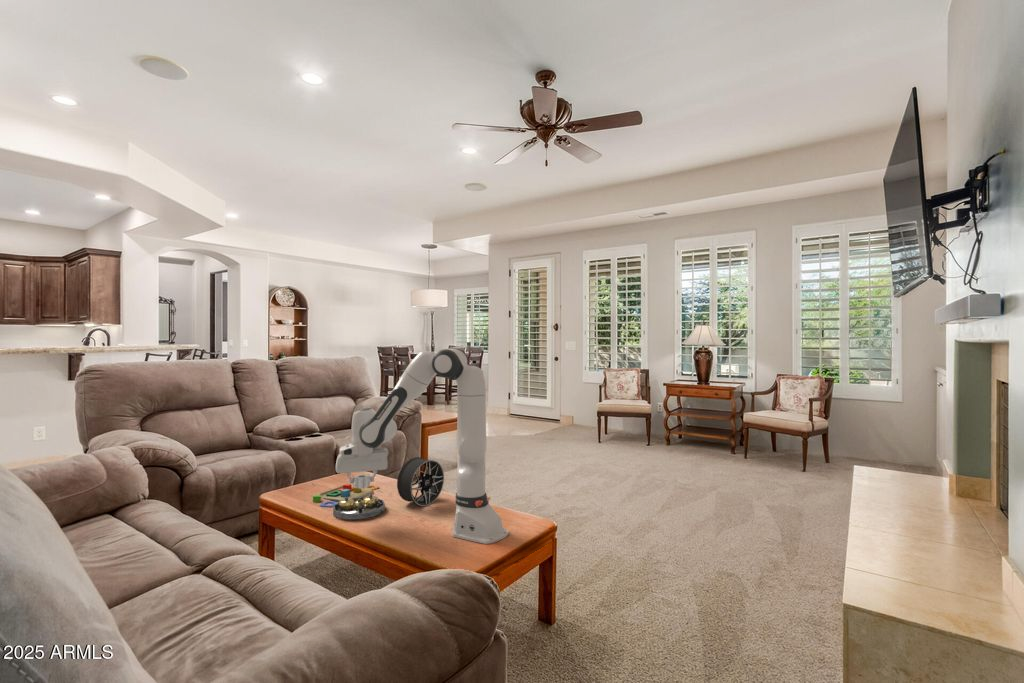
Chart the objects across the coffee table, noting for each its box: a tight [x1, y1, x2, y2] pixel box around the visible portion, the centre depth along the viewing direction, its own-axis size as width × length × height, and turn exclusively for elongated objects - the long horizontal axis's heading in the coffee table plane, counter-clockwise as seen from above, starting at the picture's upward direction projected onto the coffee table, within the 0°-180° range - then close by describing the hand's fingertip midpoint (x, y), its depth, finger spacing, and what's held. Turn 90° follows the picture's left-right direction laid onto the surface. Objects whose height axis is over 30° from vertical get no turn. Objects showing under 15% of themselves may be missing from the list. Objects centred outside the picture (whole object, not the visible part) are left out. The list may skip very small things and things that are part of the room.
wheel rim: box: [396, 456, 445, 507], centre depth 222 cm, size 20×9×20 cm, turn 143°
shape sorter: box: [312, 483, 380, 508], centre depth 231 cm, size 34×19×5 cm, turn 152°
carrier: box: [332, 494, 386, 522], centre depth 210 cm, size 21×21×6 cm
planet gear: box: [352, 473, 371, 489], centre depth 200 cm, size 7×7×4 cm
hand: (361, 482), depth 200 cm, fingers closed on planet gear, 7 cm apart
